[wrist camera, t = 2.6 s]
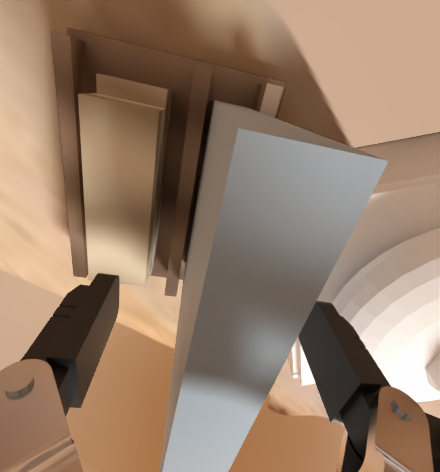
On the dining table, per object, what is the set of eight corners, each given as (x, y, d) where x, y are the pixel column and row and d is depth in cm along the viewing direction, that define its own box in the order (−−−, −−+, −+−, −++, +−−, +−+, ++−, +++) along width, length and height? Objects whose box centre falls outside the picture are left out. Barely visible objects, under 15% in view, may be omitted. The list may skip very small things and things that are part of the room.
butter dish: (257, 166, 22) (348, 296, 8) (475, 125, 21) (1009, 190, 7) (272, 311, 30) (327, 496, 16) (426, 287, 29) (621, 459, 16)
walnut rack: (78, 32, 17) (38, 14, 13) (281, 83, 18) (301, 80, 15) (90, 257, 25) (68, 288, 21) (227, 276, 27) (231, 307, 23)
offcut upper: (96, 93, 15) (77, 93, 13) (165, 108, 15) (158, 111, 13) (101, 259, 21) (88, 279, 18) (151, 266, 21) (145, 286, 19)
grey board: (213, 99, 17) (237, 127, 4) (246, 107, 18) (388, 161, 4) (185, 263, 24) (156, 495, 10) (210, 266, 24) (215, 496, 11)
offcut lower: (110, 75, 17) (96, 73, 14) (172, 90, 17) (167, 89, 15) (111, 253, 23) (101, 269, 21) (155, 259, 24) (150, 275, 22)
